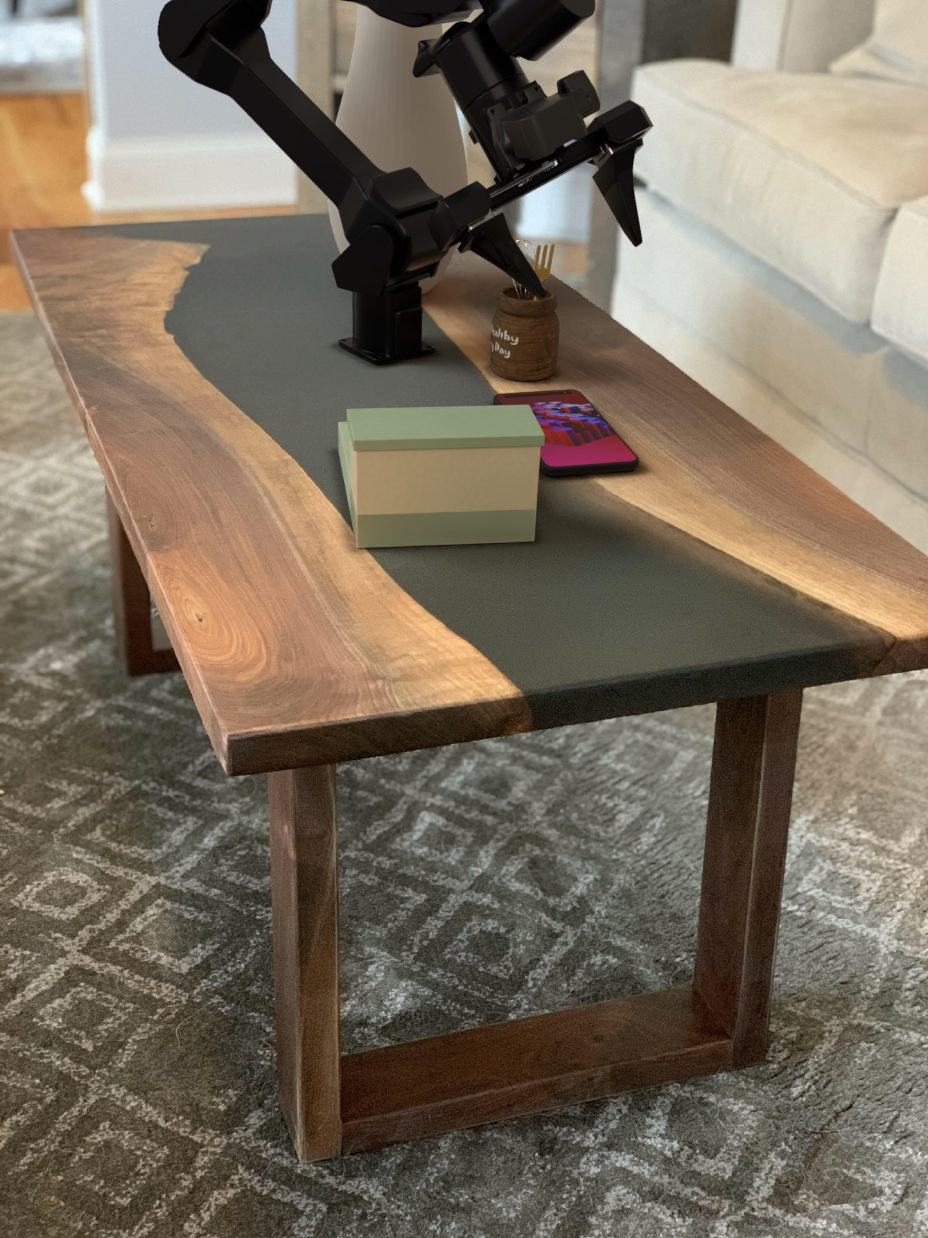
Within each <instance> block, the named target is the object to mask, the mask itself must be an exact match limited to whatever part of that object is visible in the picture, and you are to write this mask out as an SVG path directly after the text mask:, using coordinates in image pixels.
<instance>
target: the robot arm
mask: <svg viewBox="0 0 928 1238" xmlns="http://www.w3.org/2000/svg"><path fill="white" fill-rule="evenodd" d="M340 1H341V2H349V3H354V4H355V3H356V5H357V4H360V5H363V6H365V7H367V8H368V9H370V10H371V11H372V12H374V13H375V14H376V15H378V16H380V17H383V18H385V19H388V20H391V21H393V22H396V23H399V24H401V25H404V26H407V27H410V28H417V27H424V26H431V25H437V24H442V25H443V24H451V23H453V24H452V25H451V26H450V27H449V28H448V29H446V31H445V32H443V33H442V35H441V36H440V37H439V38H438V39H435V38H433V39H427V40H421V41H419V42H418V53H417V57H416V59H415V62H414V67H413V72H412V73H413V76H414V77H416V78H420V77H425V76H430V75H435V74H441V76H442V77H443V79H444V81H445V83H446V85H447V86H448V88H449V90H450V92H451V94H452V95H453V99H454V102H455V103H456V105H457V106H458V109H459V110H460V111H461V114H462V115H463V117H464V119H465V121H466V123H467V124H468V126H469V128H470V129H469V131H468V133H467V134H468V136H469V138H470V139H471V142H472V144H473V145H474V146H475V145H476V144H479V146H480V148H481V149H482V152H483V154H484V155H485V157H486V159H487V161H488V162H489V164H490V166H491V167H492V169H493V171H494V173H495V174H496V175H495V176H494V177H493V181H494V184H492V185H491V186H489V187H487V188H486V186H485V185H483V184H482V183H481V182H479V181H478V180H475V181H474V182H472V183H470V184H468V186H466V187H464V188H462V189H460V190H458V191H456V192H455V193H453V194H451V195H449V196H447V197H445V198H444V197H443V195H441V194H438V193H436V192H434V191H433V190H432V189H431V188H429V187H428V185H427V184H426V183H425V182H424V180H423V179H422V177H421V176H420V175H419V173H418V172H416V171H415V170H414V169H413V168H411V167H407V168H403V169H400V170H396V171H392V172H389V173H387V172H385V171H382V170H380V169H379V168H378V167H377V166H375V165H374V164H373V163H372V162H371V160H370V159H369V158H368V157H367V156H366V155H365V154H364V153H363V152H362V151H361V150H360V149H359V148H358V147H357V146H356V145H355V144H354V143H353V142H352V141H351V140H350V139H349V138H348V137H347V136H346V135H345V134H344V133H343V132H342V131H341V130H340V129H339V128H338V127H337V126H336V125H335V124H336V123H334V122H333V121H332V119H331V118H330V117H329V116H328V115H327V114H326V113H325V112H324V111H323V110H322V109H321V108H320V107H319V106H318V105H317V104H316V103H315V102H314V101H313V100H312V99H311V98H310V97H309V96H308V95H307V94H306V92H304V91H303V90H302V89H301V88H300V87H299V86H298V85H297V83H296V82H294V80H292V78H290V77H289V76H288V75H287V73H285V71H284V70H283V69H282V68H281V67H279V65H278V64H277V63H276V62H275V61H274V59H272V57H271V52H270V48H269V45H268V39H267V35H266V33H265V31H264V28H263V27H262V25H263V24H264V22H265V21H266V20H267V18H268V17H269V16H270V14H271V9H272V4H273V0H168V2H167V3H165V4H164V5H163V7H162V9H161V11H160V13H159V18H158V21H157V39H158V48H159V51H160V52H161V54H162V56H163V57H164V58H165V60H166V61H167V62H168V63H169V64H170V65H171V66H172V67H174V68H175V69H177V70H178V71H179V72H180V73H182V74H183V75H184V76H186V77H187V78H188V79H190V80H191V81H192V82H194V83H196V84H198V85H201V86H203V87H206V88H208V89H211V90H213V91H215V92H218V93H220V94H222V95H225V96H227V97H228V98H230V99H232V101H233V102H235V104H236V105H237V106H238V107H239V108H240V109H241V110H243V112H244V113H245V114H246V115H247V116H248V117H249V118H250V119H251V120H252V121H253V122H254V123H255V124H256V125H257V127H259V128H260V129H261V130H262V131H263V133H264V134H266V136H267V137H269V139H270V140H271V141H272V142H273V143H274V144H275V145H276V146H277V147H278V148H279V149H280V151H282V152H283V153H284V154H285V155H286V156H287V158H289V159H290V161H292V162H293V163H294V164H295V166H297V167H298V169H300V171H301V172H302V173H303V174H304V175H305V176H306V177H307V178H308V179H309V180H310V181H312V183H313V184H314V185H315V186H316V188H318V189H319V190H320V191H321V192H322V193H323V195H324V196H325V197H326V198H327V197H328V198H329V199H330V200H331V201H332V202H333V203H334V205H335V206H336V207H337V209H338V211H339V215H340V219H341V223H342V227H343V231H344V235H345V238H346V239H347V241H348V242H349V244H350V245H349V246H348V247H347V248H346V249H345V250H344V251H343V252H342V253H341V254H340V253H339V255H338V256H337V257H336V258H335V259H334V260H333V261H332V262H331V264H330V266H331V270H332V274H333V277H334V281H335V285H336V288H338V289H341V290H345V291H348V292H352V294H351V295H352V297H351V298H352V302H351V303H352V310H351V311H352V313H351V315H352V316H351V317H352V319H351V320H352V336H349V337H348V336H347V337H343V338H339V339H338V341H337V343H338V346H339V347H341V348H342V349H344V350H346V351H349V352H351V353H353V354H355V355H357V356H358V357H360V358H363V359H364V360H365V361H369V362H370V363H372V364H374V365H383V364H389V363H392V362H397V361H401V360H407V359H410V358H415V357H421V356H425V355H429V354H434V353H435V346H434V345H432V344H430V343H428V342H426V341H424V340H423V321H424V320H423V318H424V317H423V315H424V308H423V306H422V304H423V303H422V301H423V300H422V297H423V294H422V288H421V287H419V282H418V281H421V280H423V279H426V278H431V277H434V276H435V275H436V272H437V269H438V266H439V264H440V261H441V260H442V259H443V258H444V256H445V255H446V254H447V253H448V251H449V249H450V248H451V247H453V246H455V245H457V246H458V247H456V250H457V251H458V253H459V254H461V255H462V254H464V253H467V252H468V251H469V252H472V253H473V254H475V255H477V256H479V257H480V258H482V259H484V260H485V261H486V262H488V263H490V264H491V265H493V266H494V267H496V268H498V269H499V270H500V271H502V272H503V273H505V274H506V275H507V276H508V277H510V278H511V280H512V279H513V280H514V282H516V283H517V284H518V285H519V284H520V285H521V286H522V287H524V288H525V289H526V290H527V291H529V292H530V293H531V294H533V295H534V296H535V297H536V298H538V299H539V300H542V299H544V298H545V297H546V292H545V290H544V288H543V287H544V285H543V283H541V282H540V280H539V278H538V276H537V274H536V273H535V271H534V270H533V267H532V265H531V264H530V262H529V260H528V259H527V258H526V255H525V254H524V253H523V251H522V249H521V248H520V246H519V247H518V244H517V242H516V240H515V239H514V237H513V235H512V233H511V231H510V228H509V225H508V222H507V219H506V216H505V213H504V212H503V211H501V212H499V213H498V214H496V215H495V214H494V213H495V212H497V211H499V210H500V209H502V208H504V207H506V206H508V205H510V204H512V203H513V202H516V201H517V200H519V199H521V198H523V197H525V196H526V195H528V194H530V193H532V192H534V191H536V190H538V189H540V188H542V187H543V186H545V185H547V184H549V183H551V182H552V181H554V180H557V179H558V178H560V177H562V176H564V175H565V174H567V173H569V172H572V171H573V170H575V169H576V168H579V167H580V166H582V165H584V164H586V163H587V164H590V165H593V166H594V167H595V166H596V168H597V171H596V172H594V174H593V175H592V176H591V178H592V180H593V182H594V183H595V185H596V187H597V188H598V190H599V192H600V194H601V195H602V197H603V199H604V200H605V202H606V204H607V205H608V208H609V209H610V211H611V213H612V214H613V216H614V218H615V220H616V222H617V223H618V225H619V226H620V229H621V230H622V232H623V233H624V235H625V236H626V238H627V239H628V240H629V242H630V243H631V244H632V246H633V247H635V248H638V247H639V246H641V245H642V244H643V234H642V229H641V223H640V216H639V210H638V205H637V199H636V194H635V184H634V183H635V181H634V163H635V158H636V154H637V153H638V152H639V151H640V150H641V148H643V146H644V139H643V138H644V137H645V136H646V135H647V134H648V132H649V131H651V130H652V129H653V127H654V124H653V122H652V120H651V118H650V117H649V114H648V113H647V111H646V109H645V108H644V106H642V105H641V104H639V103H637V102H636V101H633V100H632V99H628V100H626V101H624V102H622V103H620V104H618V105H616V106H615V107H613V108H611V109H609V110H607V111H605V112H603V113H602V114H600V115H597V116H596V117H594V118H593V119H592V121H591V122H590V123H589V124H588V125H586V123H585V119H586V118H588V117H590V116H592V115H593V114H595V113H597V112H600V110H601V106H602V105H601V104H602V103H601V100H600V98H599V95H598V93H597V90H596V88H595V86H594V84H593V83H592V81H591V79H590V78H589V76H588V74H587V73H586V71H585V70H584V69H580V70H579V69H578V70H575V71H573V72H571V73H569V74H568V75H565V76H563V77H561V78H560V79H558V80H557V81H556V88H557V89H556V90H557V92H555V93H554V94H553V93H552V95H549V96H548V95H547V94H546V93H545V91H544V90H543V88H542V86H541V85H540V84H539V83H538V81H537V80H536V79H534V80H532V81H531V82H530V80H529V78H528V76H527V75H526V73H525V71H524V70H523V67H522V66H521V64H520V62H519V60H518V59H520V58H522V59H524V60H526V61H528V62H537V61H539V60H540V59H541V58H543V57H544V56H546V54H548V53H549V52H550V51H551V50H552V49H554V48H555V47H556V46H558V44H560V43H561V42H563V40H565V39H566V38H568V36H569V35H570V34H572V33H573V32H574V31H575V30H577V29H578V28H579V27H580V26H582V24H584V23H585V22H586V21H587V20H589V18H591V17H592V16H593V15H594V14H595V12H596V5H597V4H596V0H340ZM476 10H482V11H481V13H479V14H478V15H477V16H476V17H475V18H474V19H473V20H471V21H466V20H467V19H469V18H470V16H471V15H472V14H473V13H474V11H476ZM573 140H574V141H573ZM571 141H573V142H571ZM569 142H571V143H569ZM568 143H569V144H568ZM565 144H567V145H566V146H565ZM555 162H556V163H555ZM458 244H459V245H458Z"/></svg>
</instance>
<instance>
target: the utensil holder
mask: <svg viewBox="0 0 928 1238" xmlns="http://www.w3.org/2000/svg"><path fill="white" fill-rule="evenodd" d="M522 241H523V242H524V243H525V246H526V255H527V258H526V259H527V260H529V250H528V244H527V243H529V244H530V245H531V247H532V248H533V252H534V261H533V265H532V266H533V267H532V268H533V270H534V271H535V273H536V274H537V276H538V278H539V280H540V282H541V284H543V281H545V280H548V279H549V277H550V275H551V269H552V264H553V258H554V251H555V243H551V244H550V248H549V252H548V247H549V245H548V243H547V244H546V243H545V244H544V245H543V249H541V248H542V245H541V244H537V246H536V249H535V247H534V245H533V243H532V242H531V241H530V240H527V239H517V240H515V242H516V243H517V242H518V244H517V245H518V247H519V248H520V243H521V242H522ZM541 250H542V253H541ZM547 253H548V254H547ZM540 254H541V260H540ZM547 255H548V258H547ZM539 260H540V264H539ZM546 260H547V262H546ZM545 265H546V266H545ZM538 267H539V268H538ZM511 280H512V283H513V285H507V286H503V287H501V288H499V290H498V293H497V296H496V299H495V300H496V301H495V304H496V306H497V309H496V310H495V311H494V313H493V316H492V320H491V327H490V345H489V347H490V348H489V364H490V369H491V370H492V372H493V373H494V374H495V375H497V376H499V377H501V378H503V379H507V380H511V381H517V382H518V381H519V382H535V381H542V380H546V379H548V378H550V377H551V376H553V375H554V373H555V371H556V369H557V365H558V358H559V357H558V356H559V346H560V345H559V344H560V319H559V316H558V314H557V312H556V310H557V308H558V296H557V293H556V292H555V290H553V289H550V288H549V287H545V286H543V288H544V290H545V292H546V297H545V298H544V299H542V300H539V299H538V298H536V297H535V296H534V295H533V294H531V293H530V292H529V291H527V290H526V289H525V288H524V287H522V286H521V285H520V284H519V283H518V284H515V280H514V279H512V278H511Z"/></svg>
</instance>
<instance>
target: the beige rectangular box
mask: <svg viewBox="0 0 928 1238" xmlns="http://www.w3.org/2000/svg"><path fill="white" fill-rule="evenodd" d="M337 429H338V430H337V436H338V437H337V438H338V439H337V442H338V443H337V444H338V456H339V463H340V468H341V473H342V478H343V481H344V488H345V494H346V498H347V504H348V509H349V510H348V511H349V515H350V520H351V525H352V530H353V535H354V541H355V546H356V549H364V548H366V549H367V548H369V549H370V548H394V547H395V548H396V547H418V546H419V547H420V546H422V547H423V546H445V545H471V544H472V545H473V544H476V545H477V544H496V543H497V544H499V543H526V542H535V538H536V537H535V536H536V524H537V523H536V521H537V505H538V490H539V476H540V468H539V463H540V448H541V446H544V442H545V435H544V433H543V431H542V429H541V427H540V425H539V423H538V421H537V419H536V417H535V415H534V413H533V411H532V410H531V408H530V406H529V405H495V406H494V405H459V406H457V405H454V406H453V405H452V406H417V407H415V406H412V407H409V406H408V407H372V408H371V407H368V408H347V409H346V421H338V422H337Z"/></svg>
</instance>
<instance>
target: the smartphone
mask: <svg viewBox="0 0 928 1238" xmlns="http://www.w3.org/2000/svg"><path fill="white" fill-rule="evenodd" d="M492 399H493V400H492V403H493V404H492V406H495V405H529V406H530V408H531V410H532V411H533V413H534V415H535V417H536V419H537V421H538V423H539V425H540V427H541V429H542V431H543V433H544V435H545V442H544V446H541V448H540V463H539V470H540V471H541V472H542V473H543V474H544V475H547V476H550V477H561V476H575V475H588V474H602V473H615V472H627V471H628V472H629V471H635V470H636V469H638V468H639V465H640V464H639V463H640V458H639V456H638V455H637V454H636V453H635V452H634V450H633V449H632V448H631V447H630V446H629V445H628V443H626V442H625V440H624V439H623V438H622V437H621V435H620V434H619V433H618V432H617V431H616V430H615V429H614V427H612V426H611V424H610V423H609V421H607V419H605V417H604V416H603V415H602V414H601V413H600V412H599V411H598V410H597V408H596V407H595V406H594V405H593V404H592V403H591V401H589V399H588V398H587V397H586V396H585V394H583V393H582V392H581V391H580V390H578V389H573V388H567V389H549V390H533V391H532V390H531V391H519V392H518V391H517V392H503V393H498V394H497V393H496V394H495V395H494V396H493V398H492Z"/></svg>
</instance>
